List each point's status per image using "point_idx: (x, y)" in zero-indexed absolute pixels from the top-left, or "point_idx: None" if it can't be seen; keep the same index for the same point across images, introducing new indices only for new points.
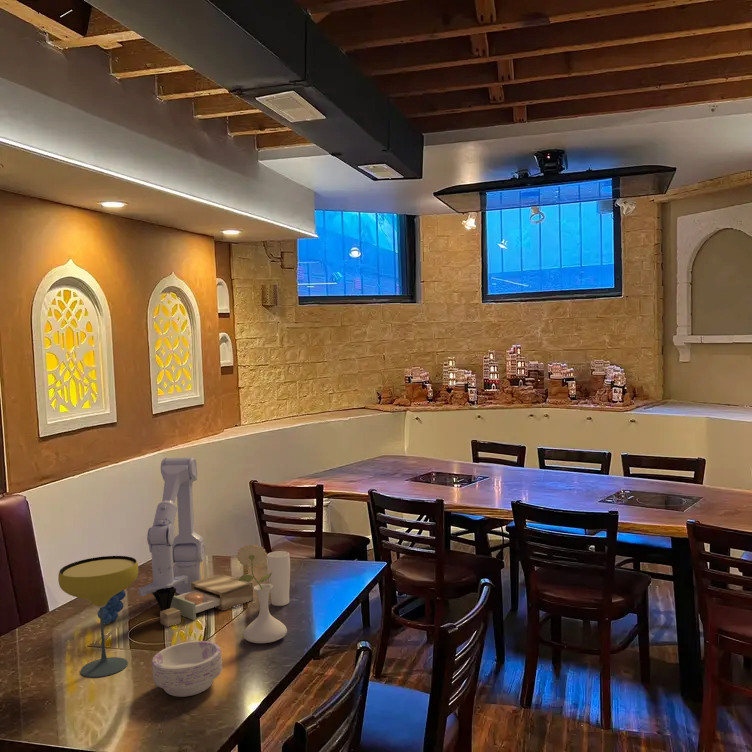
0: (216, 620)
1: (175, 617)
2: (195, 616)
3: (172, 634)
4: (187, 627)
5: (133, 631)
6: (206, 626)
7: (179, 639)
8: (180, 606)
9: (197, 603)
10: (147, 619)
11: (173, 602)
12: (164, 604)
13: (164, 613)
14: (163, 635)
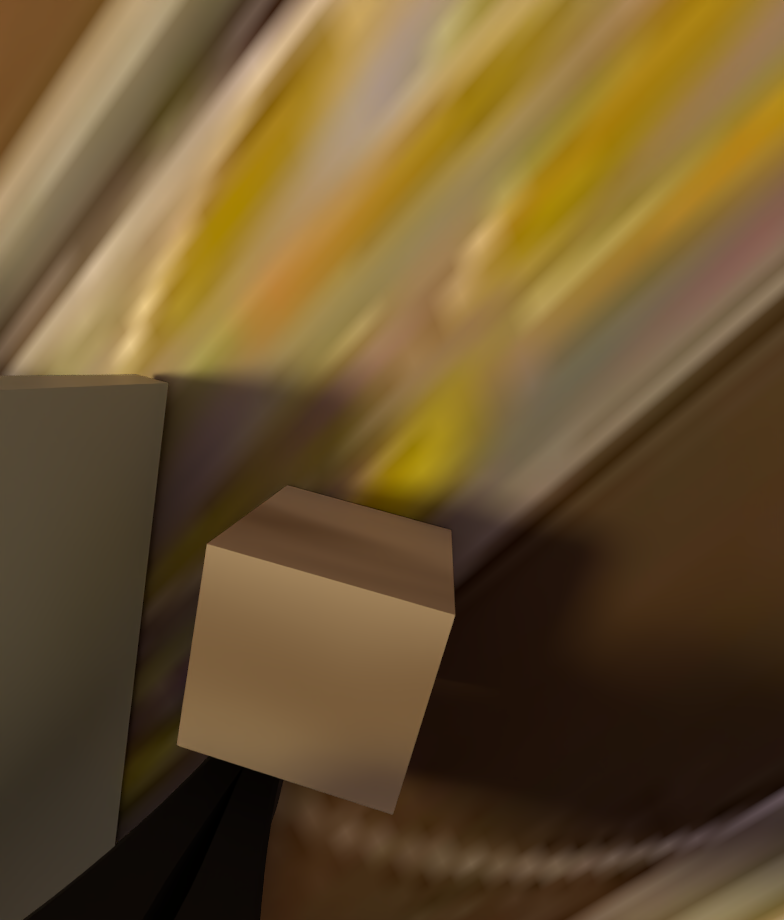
0: (21, 102)
1: (329, 535)
2: (116, 376)
3: (632, 298)
4: (361, 293)
5: (693, 799)
6: (224, 56)
7: (773, 29)
8: (55, 704)
9: None
10: (369, 861)
11: (30, 856)
12: (242, 902)
13: (427, 702)
14: (700, 390)
